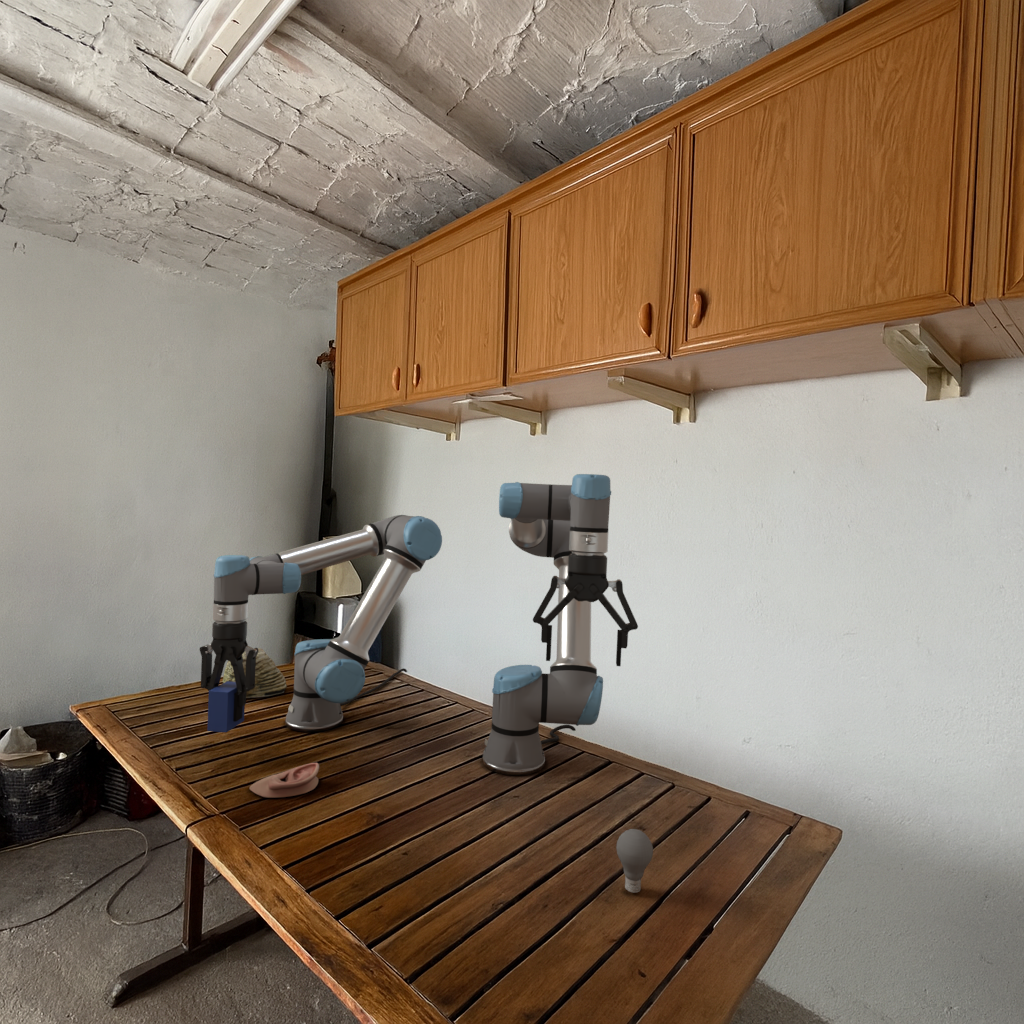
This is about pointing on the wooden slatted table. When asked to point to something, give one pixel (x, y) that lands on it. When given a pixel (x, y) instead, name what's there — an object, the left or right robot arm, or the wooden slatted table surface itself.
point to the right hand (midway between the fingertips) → (583, 662)
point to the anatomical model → (288, 782)
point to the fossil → (260, 676)
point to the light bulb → (634, 857)
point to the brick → (222, 708)
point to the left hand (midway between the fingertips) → (226, 718)
